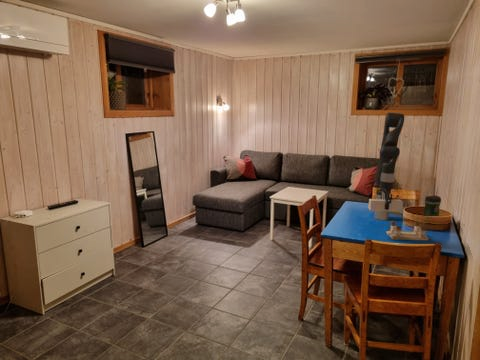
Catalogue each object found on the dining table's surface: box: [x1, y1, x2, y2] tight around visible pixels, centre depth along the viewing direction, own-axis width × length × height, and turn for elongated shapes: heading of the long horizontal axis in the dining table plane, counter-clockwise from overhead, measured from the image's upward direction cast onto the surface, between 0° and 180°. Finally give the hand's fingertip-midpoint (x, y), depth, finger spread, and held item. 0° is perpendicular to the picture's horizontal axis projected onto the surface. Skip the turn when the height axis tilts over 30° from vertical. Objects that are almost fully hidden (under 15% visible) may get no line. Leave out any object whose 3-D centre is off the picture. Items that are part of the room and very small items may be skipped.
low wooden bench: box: [386, 220, 430, 241], centre depth 203 cm, size 11×20×8 cm, turn 87°
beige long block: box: [367, 198, 404, 212], centre depth 203 cm, size 5×18×6 cm, turn 82°
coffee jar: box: [423, 195, 442, 217], centre depth 230 cm, size 10×8×19 cm
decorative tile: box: [389, 206, 406, 217], centre depth 258 cm, size 19×20×4 cm
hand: (385, 208), depth 203 cm, fingers closed on beige long block, 5 cm apart
